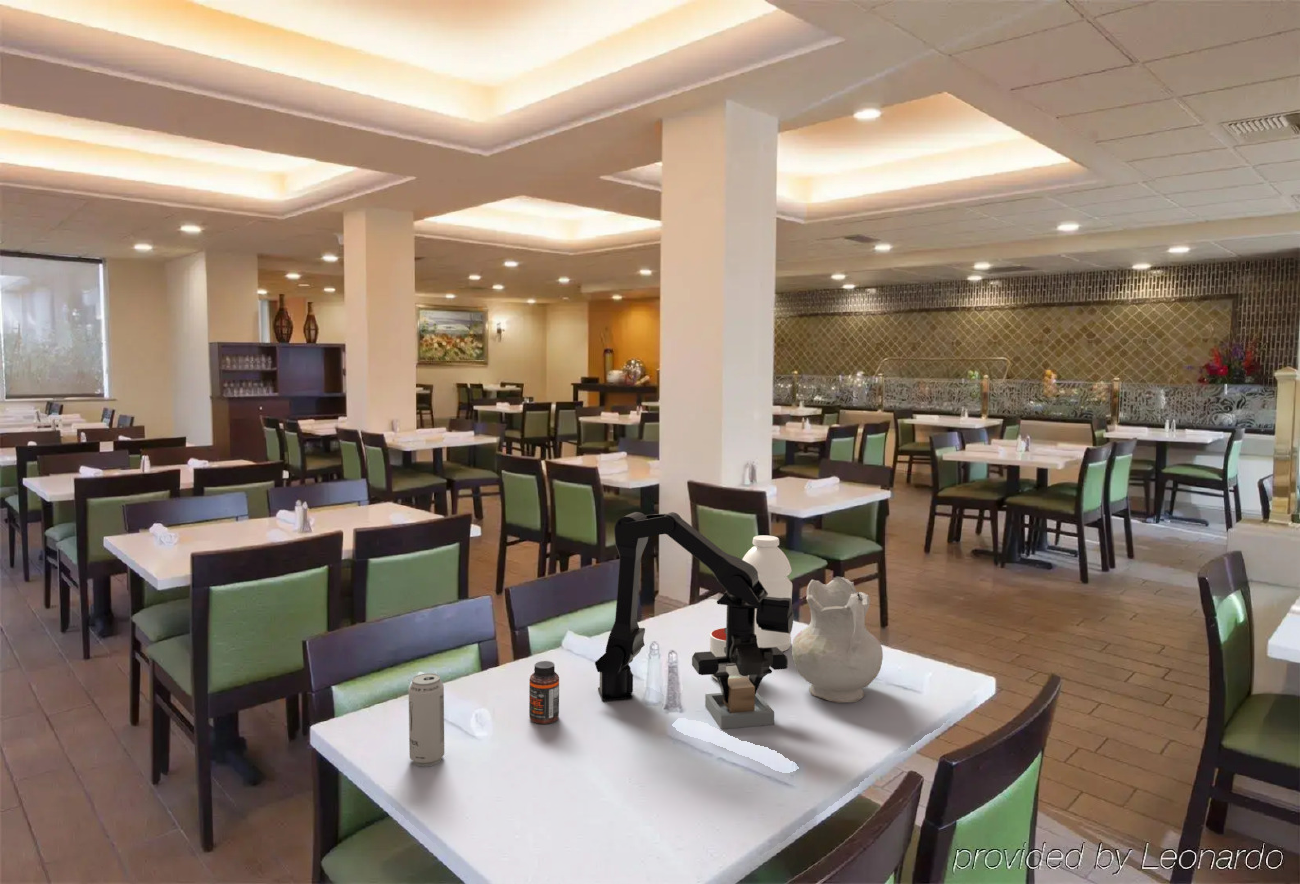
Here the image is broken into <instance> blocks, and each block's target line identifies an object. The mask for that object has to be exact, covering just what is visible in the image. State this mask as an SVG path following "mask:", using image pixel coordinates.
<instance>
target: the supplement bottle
mask: <svg viewBox="0 0 1300 884" xmlns="http://www.w3.org/2000/svg"><path fill="white" fill-rule="evenodd" d="M555 669H556V668H555V663H554V662H553V661H550V660H540V661H537V662H536V663H535V664H534V672H533V673H532V674H531V675H530V676H529V686H528V687H529V688H528V689H529V690H528V691H529V699H528V701H529V703H528V704H529V705H528V706H529V707H528V708H529V710H528V711H529V713H528V715H529V720H530V721H531V722H533V723H534V724H535V723H536V724H540V725H542V724H543V725H546V724H551V723H554V722H556V721H557V720H558V719H559V715H560V677H559V674H558V673H557V672H556V671H555Z"/></svg>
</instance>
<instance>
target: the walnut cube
mask: <svg viewBox="0 0 1300 884" xmlns="http://www.w3.org/2000/svg"><path fill="white" fill-rule="evenodd" d="M728 691H729V697H728V703H726V702H725V700H724V697H723V703H724V704H725V706H726V707H727V708H728V710H729V711H730V713H736V712H747V711H755V686H754V685H753V684H752V683H751V682H750V680H749V679H748V678H747V677H743V678H731V679H728Z"/></svg>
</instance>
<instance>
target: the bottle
mask: <svg viewBox="0 0 1300 884" xmlns="http://www.w3.org/2000/svg"><path fill="white" fill-rule="evenodd" d="M752 545H753V546H752V547H751V548H750V549H748V551H746V553H745V554H744V556H743V557H742V560H743V561H745V562H747V563H749V564H751V565H752V566H754V567H755V569H756V570H757V572H758V580H759V581H760V582H761V584H762V585H763V587H764V588H765V590H766V591H767V593H768V595H767V597H775V598H791V604H792V600H793V598H792V597H793V583H792V581H791V580H790V579H789V577H788V576H789V575H790V574H791V573H792V567H791V564H790V563H791V562H790V560H789V559H788V557H787V555H786V554H785V552H784V551H782V549H781V548H779V547H778V546H780V538H779V537H777V536H773V535H760V534H759V535H755V536H753V538H752ZM756 611H757V609H756V608H755V635H756V638H757V645H758V648H760V647H762V648H770V647H777V648H778V649H779V650H780V651H782V652H785V651H787V650H788V649H790V648H791V645H792V644H791V642H792V635H791V633H792V632H791V633H790V634H789V633H781V632H773V631H765V630H761V628H760V627H758V624H757V623H756Z"/></svg>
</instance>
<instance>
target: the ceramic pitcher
mask: <svg viewBox="0 0 1300 884" xmlns="http://www.w3.org/2000/svg"><path fill="white" fill-rule="evenodd" d="M854 583H855V582H854V581H850V580H849V579H847V578H845V576H843V577H842V576H835V577H832V580H830V581H829V582H828V583H827V584H824V583H822V582H821V581H820V580H815V579H811V580H810V581H809V583H808V584H807V587H806V602H807V604H808V607H809V611H810V622H809V624H808V626H806V627H805V628H804V629H802V630H800V631H799V632H798V633H797V634H796V635H795V636H794V638H793V640H792V644H791V652H792V653H791V654H792V658H793V664H794V665H795V668H796V671H797V672H798V674H799V675H800V676H801V677H802V678H803V679H804V680H805V681H806V682H808V683H809V684H811V685H810V686H809V689H808V690H809V694H810V695H811V696H812V697H813V696H814V697H816V698H818V699H819V698H820V699H823V700H824V701H829V702H832V703H836V704H842V703H843V704H844V703H857V702H859V701H860V700H861V699H863V698H864V697H865V696H866V694H865V692H864V691H863V688H867V687H868V686H870V684H871V683H873V681H874V680H875V679H876V678H877V677H878V675H879V673H880V671H881V669H882V664H883V658H884V657H883V656H884V655H883V648H882V644H881V642H880V641H879V640H878V638H877V637H876V636H875V635H873V634H871V633H870V632H869V631H868V629H867V628H866V625H865V619H866V615H867V613H868V610H869V608H870V605H871V599H870V596H869V594H867V593H865V592H862V591H857V588H856V586H855V585H854Z"/></svg>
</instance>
